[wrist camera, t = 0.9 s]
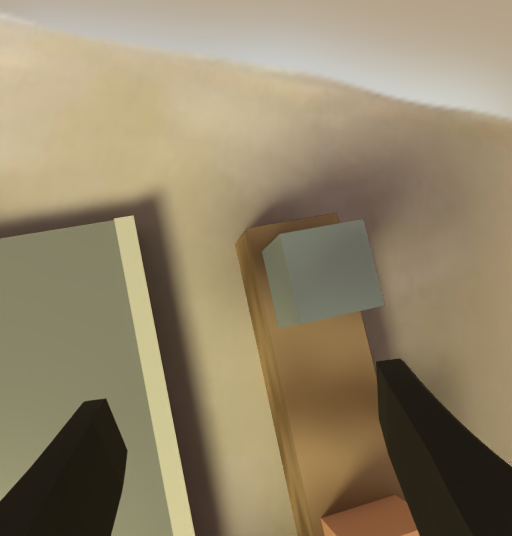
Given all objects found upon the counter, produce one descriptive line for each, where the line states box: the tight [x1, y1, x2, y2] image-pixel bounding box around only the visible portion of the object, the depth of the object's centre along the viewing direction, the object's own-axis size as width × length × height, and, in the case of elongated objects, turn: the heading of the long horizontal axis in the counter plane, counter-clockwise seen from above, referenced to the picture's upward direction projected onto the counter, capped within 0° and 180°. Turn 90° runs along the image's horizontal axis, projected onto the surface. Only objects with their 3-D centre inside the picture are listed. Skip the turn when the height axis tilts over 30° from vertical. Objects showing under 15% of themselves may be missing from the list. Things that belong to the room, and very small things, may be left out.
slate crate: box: [262, 219, 385, 328], centre depth 23 cm, size 4×4×4 cm
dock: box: [0, 216, 195, 536], centre depth 24 cm, size 24×12×3 cm, turn 12°
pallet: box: [235, 213, 406, 536], centre depth 27 cm, size 20×5×4 cm, turn 12°
